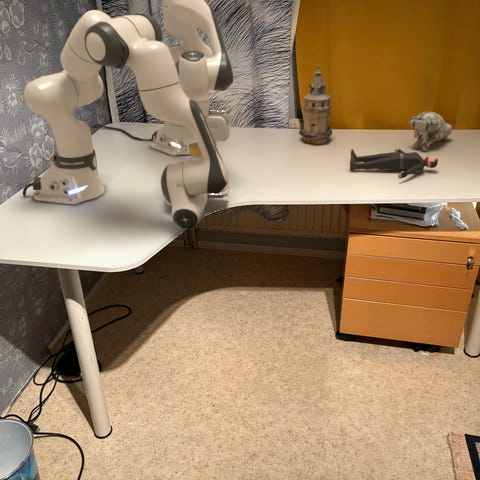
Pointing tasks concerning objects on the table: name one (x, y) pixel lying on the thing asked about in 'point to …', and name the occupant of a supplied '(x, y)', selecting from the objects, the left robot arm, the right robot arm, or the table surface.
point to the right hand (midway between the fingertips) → (197, 152)
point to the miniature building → (316, 112)
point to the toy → (393, 162)
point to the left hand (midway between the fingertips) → (199, 177)
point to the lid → (194, 149)
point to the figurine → (429, 128)
